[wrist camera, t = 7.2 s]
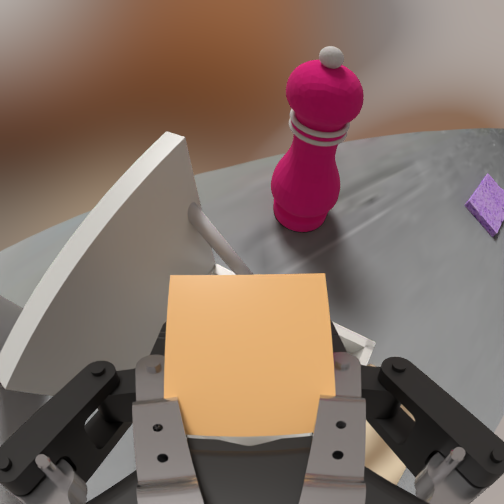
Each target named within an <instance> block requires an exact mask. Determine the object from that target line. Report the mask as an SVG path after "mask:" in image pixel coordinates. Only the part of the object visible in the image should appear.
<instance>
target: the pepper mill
mask: <svg viewBox="0 0 504 504" xmlns="http://www.w3.org/2000/svg"><path fill="white" fill-rule="evenodd" d="M319 59H320V60H312V61H308V62H305V63H303V64H301V65H300V66H298V67H297V68H296V69H294V71H293V72H292V73H291V75H290V77H289V79H288V82H287V87H286V97H287V100H288V102H289V105H290V107H291V108H292V109H291V112H290V120H289V127H290V129H291V131H292V132H293V133H294V138H293V142H292V145H291V147H290V149H289V150H288V152H287V153H286V154H285V155H284V156H283V158H282V159H281V160H280V161H279V163H278V164H277V166H276V168H275V170H274V173H273V176H272V181H271V190H272V194H273V197H274V205H273V210H274V214H275V216H276V218H277V220H278V221H279V222H280V223H281V224H282V225H283V226H285V227H286V228H288V229H290V230H293V231H297V232H308V231H312V230H315V229H317V228H318V227H319V226H321V225H322V224H323V222H324V221H325V218H326V216H327V213H328V211H329V210H330V209H332V208H333V206H334V205H335V204H336V202H337V200H338V196H339V192H340V177H339V173H338V169H337V166H336V162H335V153H336V149H337V146H338V144H340V143H341V142H343V141H344V140H345V138H346V136H347V131H348V129H349V126H350V123H349V122H350V121H352V120H353V119H354V118H356V116H357V115H358V114H359V113H360V110H361V108H362V105H363V89H362V86H361V83H360V81H359V79H358V78H357V77H356V75H355V74H354V73H353V72H352V71H351V70H349V69H348V68H346V67H345V66H343V65H342V64H343V61H344V56H343V53H342V52H341V51H340V50H339V49H338V48H336V47H331V46H329V47H325V48H323V49H322V50H321V52H320V54H319Z"/></svg>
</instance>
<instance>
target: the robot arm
mask: <svg viewBox="0 0 504 504" xmlns="http://www.w3.org/2000/svg"><path fill="white" fill-rule="evenodd" d="M22 310H23V308H21V307H20V306H18V305H16V304H14V303H13V302H11V301H9V300H7V299H6V298H4V297H2V296H1V295H0V352H1V350H2V348H3V346H4V344H5V342H6V340H7V338H8V336H9V334H10V332H11V330H12V329H13V327H14V325H15V323H16V321H17V319H18V317H19V316H20V314H21V312H22ZM166 322H167V321H166ZM166 322H165V323H164V324H163V326H162V328H161V330H160V332H159V335H158V338H157V339H156V342H155V344H154V346H153V349H152V351H151V353H150V355H148V356H145V357H143V358H141V359H140V360H139V361H138V362H137V364H136V367H135V368H134V369H128V370H120V371H116V369H115V366H114V365H113V364H112V363H110V362H108V361H95V362H92V363H90V364H88V365H87V366H86V367H85V368H84V369H82V370H81V371H80V372H79V373H78V374H77V375H76V376H75V377H74V378H73V379H72V380H70V381H69V382H68V383H67V384H66V385H65V386H64V387H63V388H62V389H61V390H60V391H58V392H57V393H56V394H55V395H54V396H53V397H52V398H51V399H50V400H49V401H48V402H47V403H46V404H45V405H43V406H42V407H41V408H40V409H39V410H38V411H37V412H36V413H35V414H34V415H33V416H32V417H31V418H30V419H29V420H28V421H27V422H25V423H24V424H23V425H22V426H21V427H20V428H19V429H18V430H17V431H16V432H15V433H14V434H13V435H12V436H11V437H10V438H9V439H8V440H7V441H6V442H5V443H4V444H3V445H2V446H1V447H0V483H1V484H2V485H3V486H4V487H5V488H6V489H7V490H8V491H9V492H10V493H11V494H12V495H13V496H15V497H16V498H17V499H18V500H19V501H21V502H22V503H23V504H470V503H471V502H472V501H473V500H474V499H476V498H477V497H478V496H479V495H480V494H482V493H483V492H484V491H485V490H486V489H487V488H489V486H491V485H492V484H493V483H494V482H495V481H496V480H497V479H498V478H499V477H500V476H501V475H502V474H503V473H504V442H503V441H502V440H501V439H500V438H499V437H498V436H497V435H495V434H494V433H493V432H492V431H491V430H490V429H489V428H487V427H486V426H485V425H484V424H483V423H482V422H481V421H479V420H478V419H477V418H476V417H475V416H474V415H472V414H471V413H470V412H469V411H468V410H467V409H465V408H464V407H463V406H462V405H461V404H460V403H458V402H457V401H456V400H455V399H454V398H453V397H451V396H450V395H449V394H448V393H447V392H446V391H444V390H443V389H442V388H441V387H440V386H439V385H437V384H436V383H435V382H434V381H433V380H431V379H430V378H429V377H428V376H427V375H425V374H424V373H423V372H422V371H421V370H420V369H418V368H417V367H416V366H415V365H414V364H412V363H411V362H410V361H408V360H407V359H404V358H401V357H390V358H387V359H385V360H384V361H383V362H382V365H381V367H373V366H365V365H361V364H360V361H359V359H358V358H357V357H356V356H354V355H352V354H350V353H347V351H346V349H345V347H344V345H343V342H342V340H341V338H340V336H338V332H337V330H336V328H335V326H334V324H333V322H332V321H331V320H330V324H331V335H332V347H333V360H334V375H335V393H336V396H331V395H321V394H320V398H319V403H318V408H317V413H316V418H315V423H314V430H313V432H312V433H310V436H304V437H293V438H281V439H278V440H274V441H270V442H266V443H262V444H258V445H253V446H246V445H241V444H236V443H231V442H226V441H222V440H218V439H198V438H189V436H188V435H186V432H185V427H184V423H183V419H182V415H181V410H180V406H179V402H178V397H170V398H164V364H165V340H166ZM401 404H402V405H403V406H404V407H405V408H406V409H407V410H408V411H409V412H410V413H411V414H412V415H413V417H414V419H415V421H414V420H413V419H412V418H411V417H410V416H409V415H408V414H407V413H406V412H405V411H404V410H403V409H402V408H401V407H400V406H401ZM97 408H98V412H97V413H96V414H95V415H94V416H93V417H92V418H91V419H90V420H89V421H88V423H87V424H86V425H85V422H86V420H87V419H88V417H89V416H90V415H91V414H92V413H93V412H94V411H95V410H96V409H97ZM366 420H367V422H368V423H369V424H370V425H371V426H372V427H373V429H374V430H375V431H376V432H377V433H378V434H379V436H380V437H381V438H382V439H383V440H384V442H385V443H386V444H387V445H388V446H389V447H390V448H391V450H392V451H393V452H394V453H395V454H396V455H397V457H398V458H399V459H400V460H401V461H402V462H403V464H404V465H405V466H406V467H407V468H408V469H409V470H410V472H411V473H412V474H413V475H414V476H415V477H416V479H415V489H416V496H417V497H416V496H415V495H413V494H411V493H409V492H407V491H406V490H404V489H402V488H400V487H398V486H397V485H395V484H393V483H392V482H390V481H388V480H386V479H385V478H383V477H382V476H380V475H378V474H377V473H375V472H373V471H372V470H370V469H369V468H367V467H366V466H365V445H366ZM132 423H133V435H134V448H135V459H136V469H137V470H135V471H134V472H133V473H131V474H130V475H128V476H127V477H125V478H124V479H123V480H121V481H120V482H118V483H117V484H115V485H114V486H112V487H111V488H109V489H107V490H106V491H104V492H103V493H101V494H100V495H98V496H96V497H95V498H93V499H92V500H90V501H88V502H87V503H86V501H87V497H86V496H87V485H86V482H87V481H88V480H89V479H90V477H91V476H92V475H93V473H94V472H95V471H96V470H97V468H98V467H99V466H100V464H101V463H102V462H103V461H104V459H105V458H106V457H107V455H108V454H109V453H110V452H111V450H112V449H113V448H114V446H115V445H116V444H117V443H118V441H119V440H120V439H121V437H122V436H123V435H124V433H125V432H126V431H127V430H128V428H129V427H130V426H131V424H132ZM84 425H85V426H84Z"/></svg>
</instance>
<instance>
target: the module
mask: <svg viewBox="0 0 504 504" xmlns="http://www.w3.org/2000/svg"><path fill="white" fill-rule="evenodd" d="M320 394H321V395H331V396H336V393H335V375H334V360H333V347H332V335H331V324H330V314H329V304H328V295H327V286H326V278H325V273H315V274H267V275H170V283H169V295H168V308H167V322H166V340H165V364H164V398H170V397H178V402H179V406H180V410H181V415H182V419H183V423H184V427H185V432H186V435H201V436H227V437H251V436H277V435H292V434H303V433H312V432H313V430H314V423H315V418H316V413H317V408H318V403H319V398H320Z"/></svg>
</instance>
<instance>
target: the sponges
mask: <svg viewBox="0 0 504 504" xmlns="http://www.w3.org/2000/svg"><path fill="white" fill-rule="evenodd" d="M465 207H466V208H467V209H468V210H469V211H470V212H471V213H472V214H473V215H474V216H475V217H476V219H477V220H478V221H479V222H480V223H481V224H482V226H483V227H484V228H485V229H486V230H487V231H488V233H489V234H490V235H491V236H492V237H493V236H494V235H496V234H497V233H498V230H499V228H500V226H501V223H502V222H503V220H504V190H503V189H501V188H500V187H499V185H498V184H497V183H496V182H495V181H494V180H493V178H492V177H491V176H490V175H489V174H488V173H487V175H486V176H485V177H484V179H483V180H482V182H481V183H480V185H479V186H478V188H477V189H476V190H475V192H474V193H473V194H472V196H471V197H470V198H469V200H468V201H467V202H466V204H465Z"/></svg>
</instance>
